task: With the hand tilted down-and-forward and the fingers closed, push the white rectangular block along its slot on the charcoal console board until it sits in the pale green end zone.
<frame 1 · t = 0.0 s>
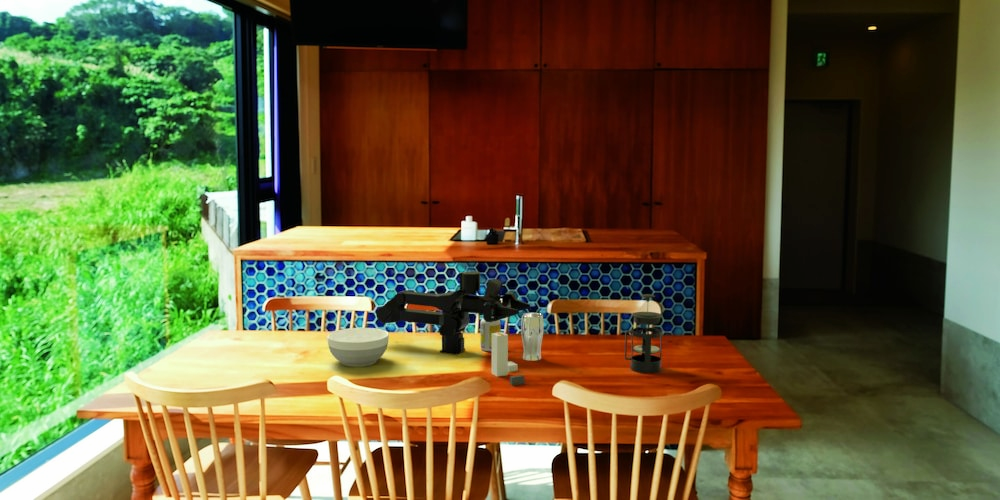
hand: (524, 309, 260), 17 cm above the table, tool horizontal, fingers open, 9 cm apart
white rectangular block: (499, 353, 242), point 7 cm above the table, slide at 0.0 cm
french press: (644, 369, 254), on the table
console board: (502, 380, 242), on the table
supplement bottle: (490, 349, 275), on the table
bowl: (358, 362, 260), on the table
beer glass: (531, 362, 261), on the table
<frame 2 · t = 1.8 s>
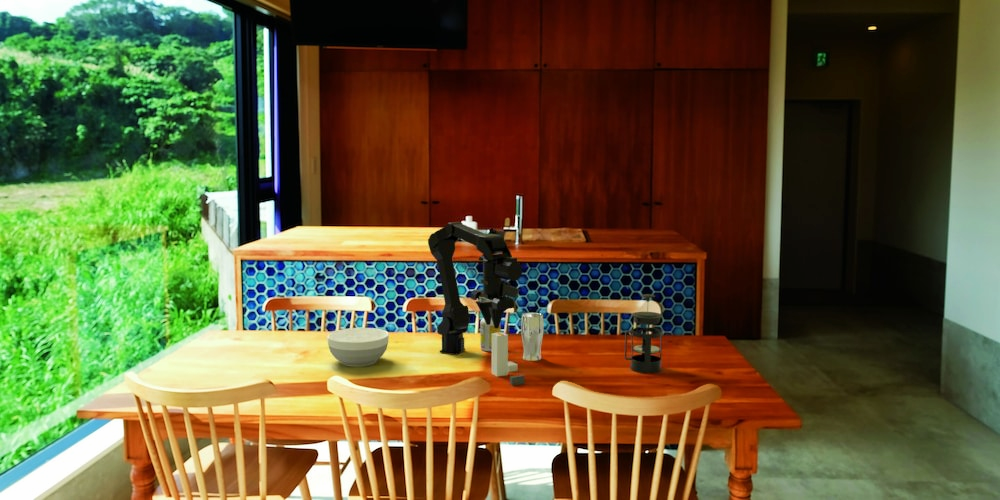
hand: (492, 326, 256), 12 cm above the table, tool pointing down, fingers open, 5 cm apart
nothing on the table moved.
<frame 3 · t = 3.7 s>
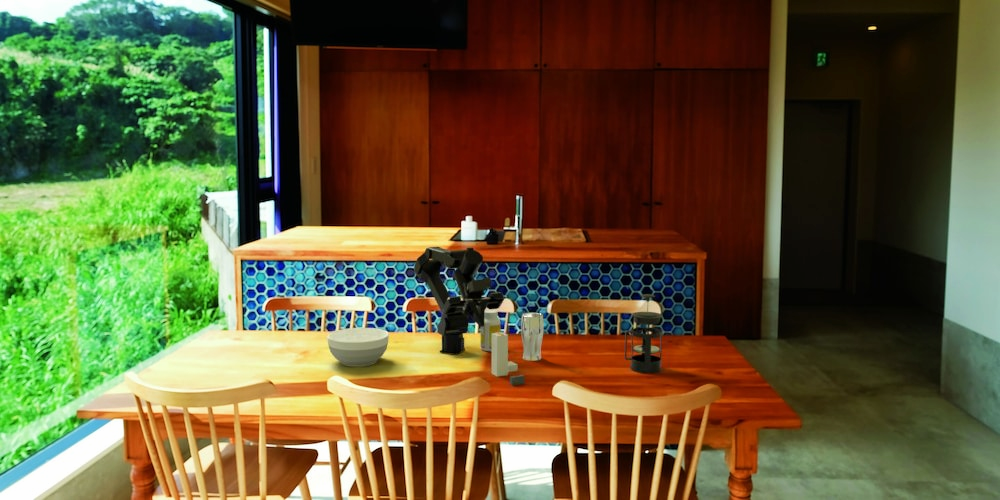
hand: (482, 326, 251), 13 cm above the table, tool tilted 45°, fingers closed
nothing on the table moved.
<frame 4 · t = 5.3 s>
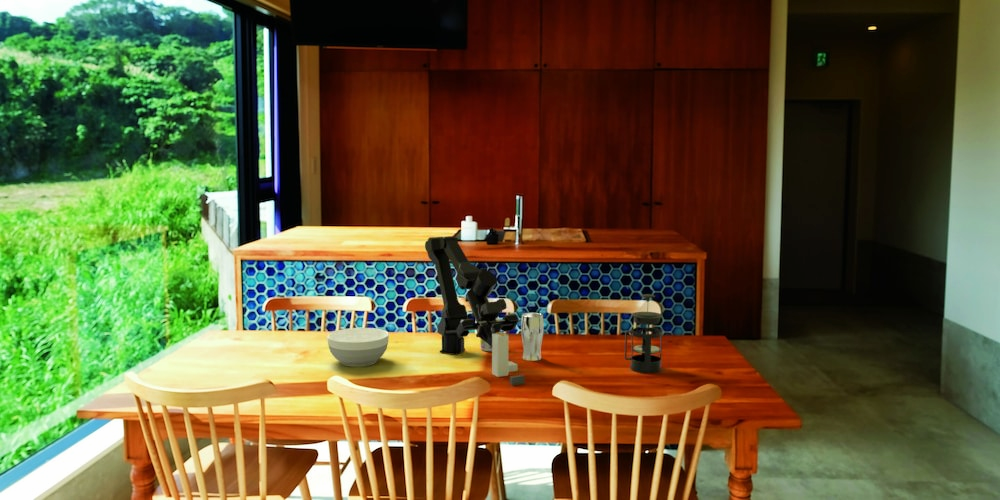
hand: (497, 349, 244), 8 cm above the table, tool tilted 45°, fingers closed, pressing on white rectangular block
white rectangular block: (500, 354, 242), point 7 cm above the table, slide at 0.4 cm, touching gripper
everything else where it was.
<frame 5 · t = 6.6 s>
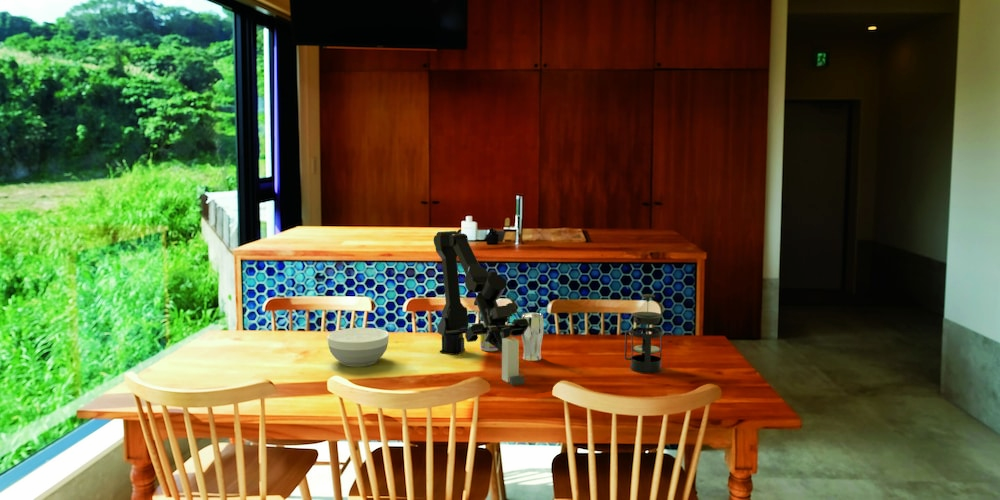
hand: (506, 354, 238), 8 cm above the table, tool tilted 45°, fingers closed, pressing on white rectangular block
white rectangular block: (510, 359, 237), point 7 cm above the table, slide at 6.5 cm, touching gripper
everything else where it was.
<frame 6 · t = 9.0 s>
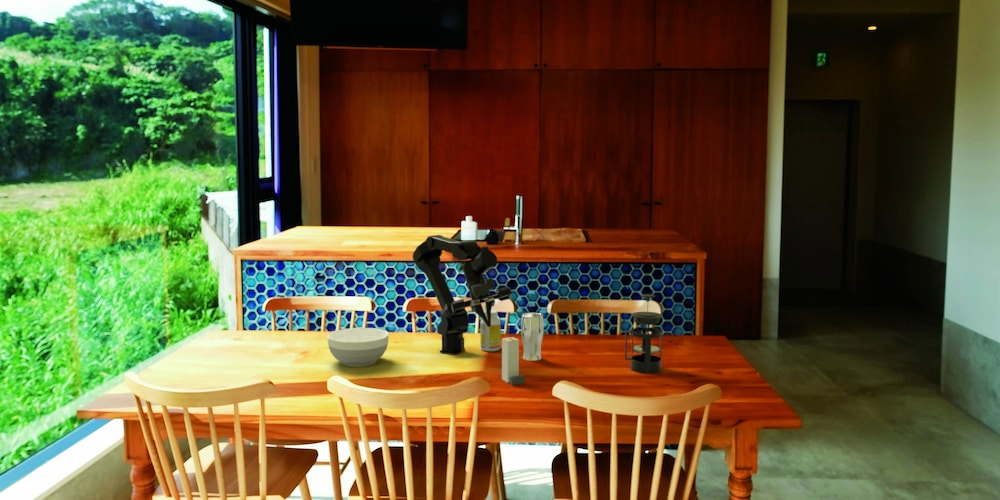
hand: (489, 326, 254), 12 cm above the table, tool tilted 30°, fingers closed
white rectangular block: (510, 359, 237), point 7 cm above the table, slide at 6.5 cm
everything else where it was.
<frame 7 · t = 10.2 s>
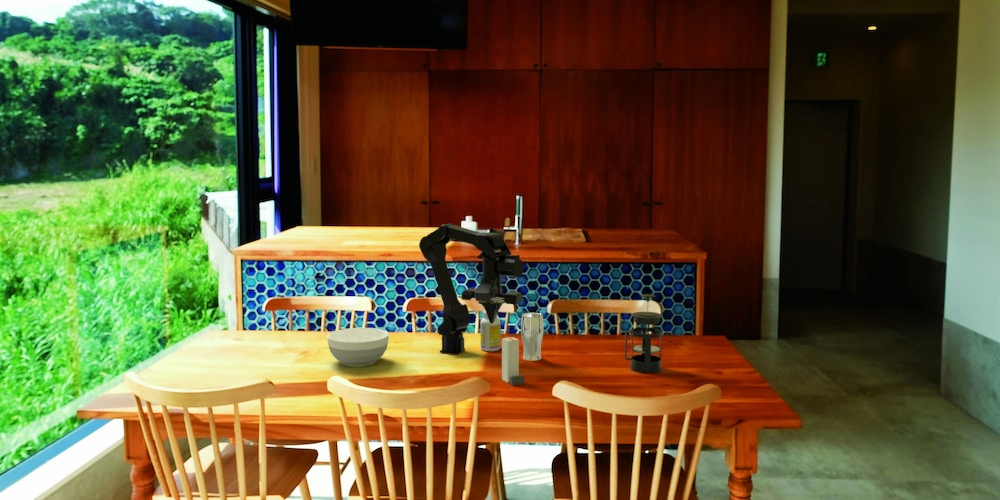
hand: (491, 323, 260), 12 cm above the table, tool pointing down, fingers closed
nothing on the table moved.
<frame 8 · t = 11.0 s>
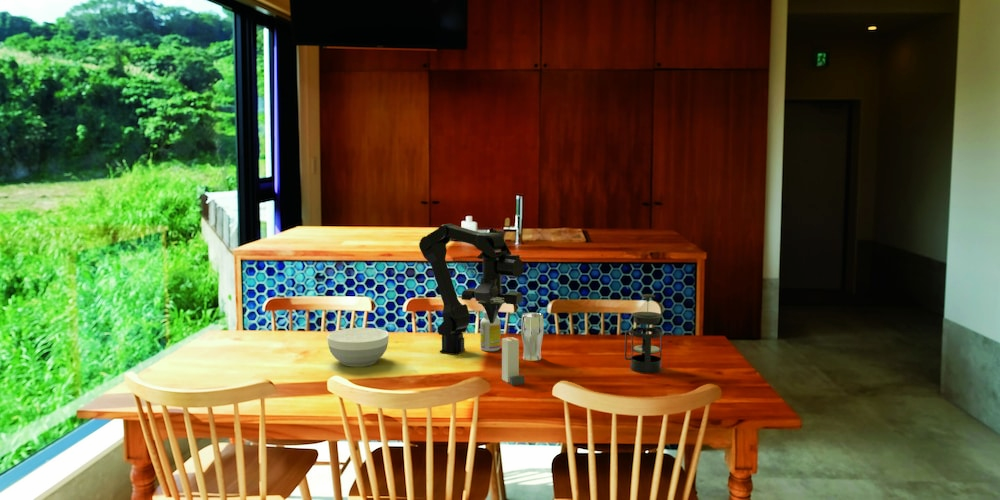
hand: (491, 323, 260), 12 cm above the table, tool pointing down, fingers closed
nothing on the table moved.
at the end: white rectangular block slide at 6.5 cm; white rectangular block touching nothing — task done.
